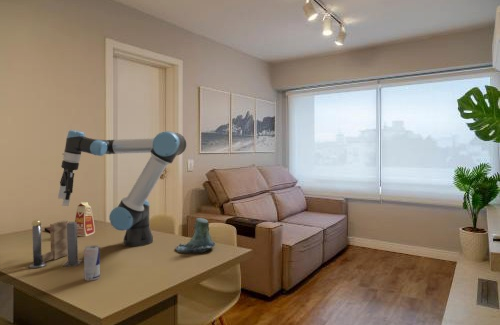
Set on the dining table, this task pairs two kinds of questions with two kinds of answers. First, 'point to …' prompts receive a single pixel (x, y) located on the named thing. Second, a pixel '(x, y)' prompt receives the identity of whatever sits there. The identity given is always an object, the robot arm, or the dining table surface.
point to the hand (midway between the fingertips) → (62, 202)
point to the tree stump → (198, 239)
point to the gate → (57, 241)
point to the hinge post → (37, 245)
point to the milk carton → (84, 220)
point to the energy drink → (91, 263)
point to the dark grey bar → (72, 245)
